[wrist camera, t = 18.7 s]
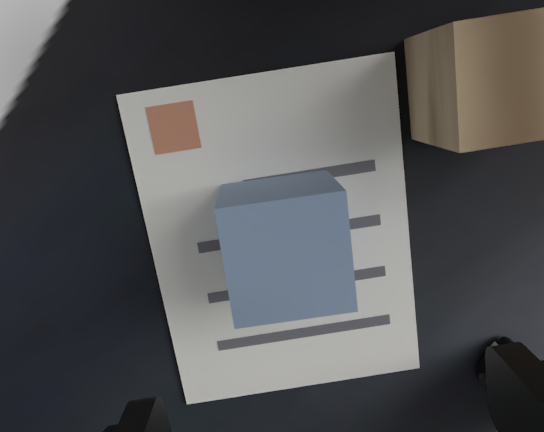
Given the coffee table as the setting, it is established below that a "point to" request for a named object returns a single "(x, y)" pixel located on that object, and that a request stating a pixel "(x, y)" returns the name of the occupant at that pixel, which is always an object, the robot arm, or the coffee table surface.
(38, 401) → the coffee table surface
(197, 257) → the letter
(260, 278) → the blue cube
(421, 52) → the oak block
